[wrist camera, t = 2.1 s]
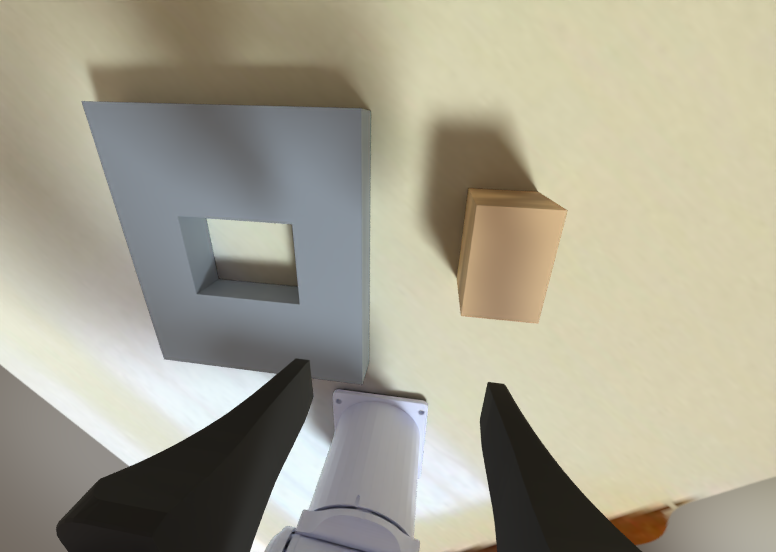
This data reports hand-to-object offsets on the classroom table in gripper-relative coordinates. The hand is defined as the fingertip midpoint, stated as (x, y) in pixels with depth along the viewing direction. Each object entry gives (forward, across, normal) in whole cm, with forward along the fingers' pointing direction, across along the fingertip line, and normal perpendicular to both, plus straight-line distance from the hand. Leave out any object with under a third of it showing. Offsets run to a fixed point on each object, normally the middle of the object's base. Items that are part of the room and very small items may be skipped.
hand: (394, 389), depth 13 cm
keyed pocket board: (+10, +11, -1) cm, 15 cm away
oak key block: (+11, -5, -3) cm, 12 cm away
